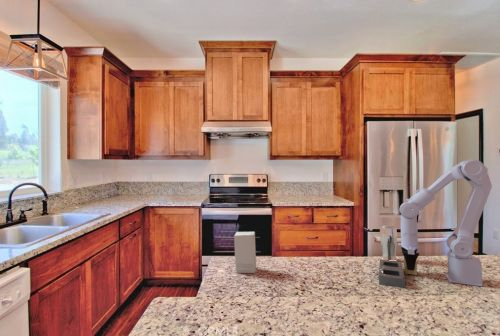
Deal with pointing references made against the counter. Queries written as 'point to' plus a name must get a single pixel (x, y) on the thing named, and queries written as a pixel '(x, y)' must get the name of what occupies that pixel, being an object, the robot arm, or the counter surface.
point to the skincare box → (245, 252)
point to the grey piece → (391, 273)
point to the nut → (410, 270)
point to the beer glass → (388, 242)
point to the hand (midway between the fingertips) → (410, 268)
